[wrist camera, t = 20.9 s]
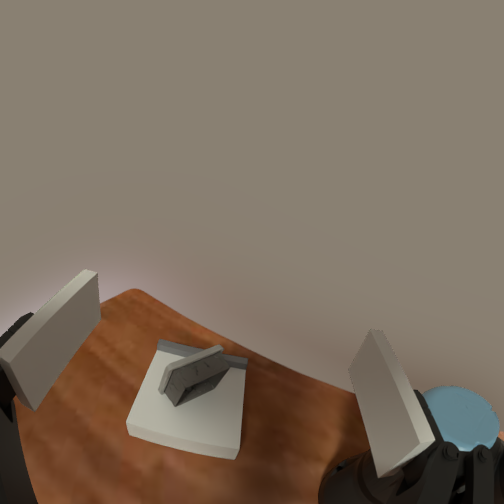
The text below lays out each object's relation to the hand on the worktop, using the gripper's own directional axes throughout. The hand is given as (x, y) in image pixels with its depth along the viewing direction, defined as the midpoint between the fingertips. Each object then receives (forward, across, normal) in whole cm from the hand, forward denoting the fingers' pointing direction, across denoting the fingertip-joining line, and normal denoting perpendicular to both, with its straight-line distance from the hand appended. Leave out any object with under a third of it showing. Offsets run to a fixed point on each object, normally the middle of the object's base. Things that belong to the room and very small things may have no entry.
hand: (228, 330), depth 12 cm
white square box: (+18, -3, -32) cm, 37 cm away
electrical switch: (+18, -3, -28) cm, 33 cm away
